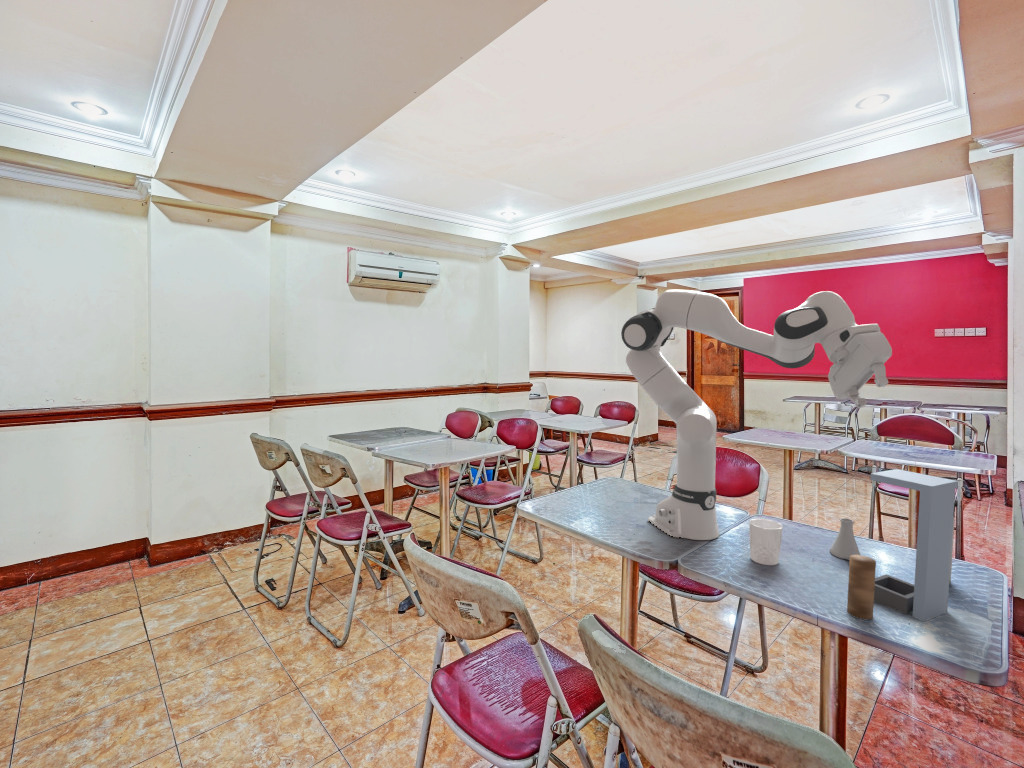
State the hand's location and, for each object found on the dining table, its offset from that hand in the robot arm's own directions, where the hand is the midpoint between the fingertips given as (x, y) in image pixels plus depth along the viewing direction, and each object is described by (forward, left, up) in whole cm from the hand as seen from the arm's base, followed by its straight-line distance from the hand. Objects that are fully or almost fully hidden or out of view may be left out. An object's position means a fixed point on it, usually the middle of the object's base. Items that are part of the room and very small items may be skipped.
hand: (872, 396), depth 111 cm
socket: (+6, +2, -46) cm, 46 cm away
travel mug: (+4, +22, -46) cm, 51 cm away
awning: (+7, +3, -46) cm, 46 cm away
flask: (-14, +17, -46) cm, 51 cm away
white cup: (-21, -6, -46) cm, 51 cm away
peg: (+6, -11, -46) cm, 47 cm away
